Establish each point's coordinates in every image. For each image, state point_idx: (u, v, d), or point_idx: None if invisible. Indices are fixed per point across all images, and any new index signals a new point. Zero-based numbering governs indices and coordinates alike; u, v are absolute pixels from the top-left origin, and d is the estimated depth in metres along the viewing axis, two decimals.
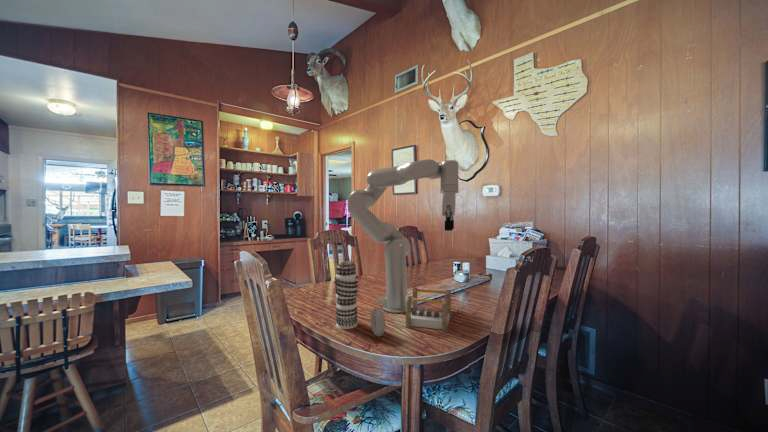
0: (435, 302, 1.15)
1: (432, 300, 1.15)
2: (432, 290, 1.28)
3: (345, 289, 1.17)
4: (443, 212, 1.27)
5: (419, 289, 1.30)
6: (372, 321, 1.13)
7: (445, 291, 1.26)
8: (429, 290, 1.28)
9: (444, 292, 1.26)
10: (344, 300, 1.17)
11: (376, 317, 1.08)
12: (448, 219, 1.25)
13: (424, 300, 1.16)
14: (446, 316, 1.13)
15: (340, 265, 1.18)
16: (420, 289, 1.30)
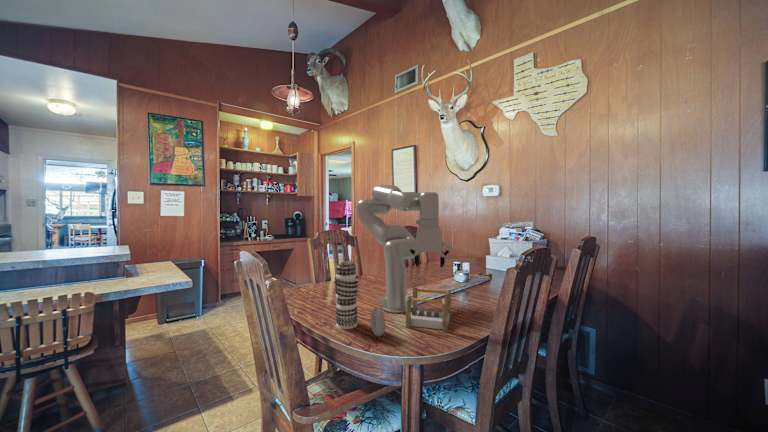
0: (435, 302, 1.15)
1: (432, 300, 1.15)
2: (432, 290, 1.28)
3: (345, 289, 1.17)
4: (441, 248, 1.18)
5: (419, 289, 1.30)
6: (372, 321, 1.13)
7: (445, 291, 1.26)
8: (429, 290, 1.28)
9: (444, 292, 1.26)
10: (344, 300, 1.17)
11: (376, 317, 1.08)
12: (445, 255, 1.19)
13: (424, 300, 1.16)
14: (446, 316, 1.13)
15: (340, 265, 1.18)
16: (420, 289, 1.30)
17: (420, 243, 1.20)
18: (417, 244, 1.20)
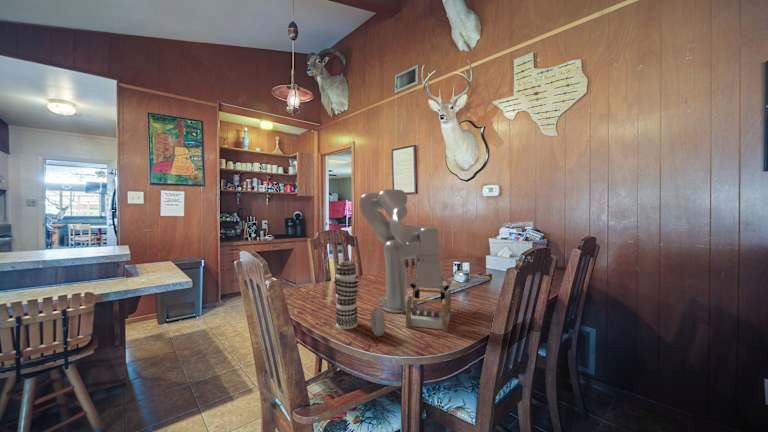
0: (435, 302, 1.15)
1: (432, 300, 1.15)
2: (432, 290, 1.28)
3: (345, 289, 1.17)
4: (441, 284, 1.18)
5: (419, 289, 1.30)
6: (372, 321, 1.13)
7: (445, 291, 1.26)
8: (429, 290, 1.28)
9: None
10: (344, 300, 1.17)
11: (376, 317, 1.08)
12: None
13: (424, 300, 1.16)
14: (446, 316, 1.13)
15: (340, 265, 1.18)
16: (420, 289, 1.30)
17: (420, 278, 1.20)
18: (417, 279, 1.20)
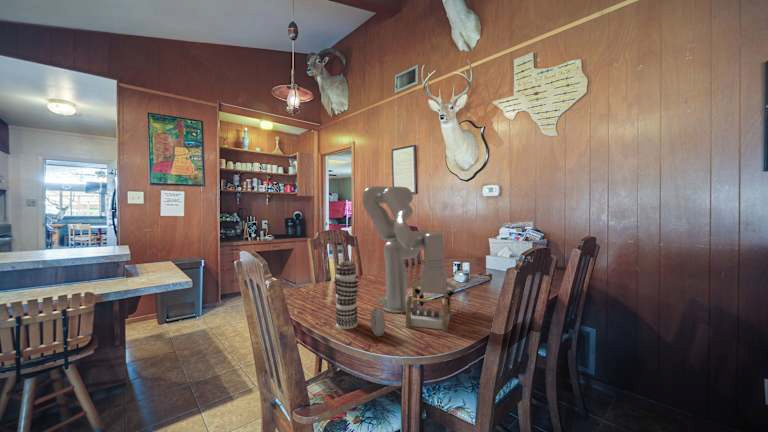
0: (435, 302, 1.15)
1: (432, 300, 1.15)
2: None
3: (345, 289, 1.17)
4: (446, 290, 1.18)
5: (419, 289, 1.30)
6: (372, 321, 1.13)
7: None
8: None
9: None
10: (344, 300, 1.17)
11: (376, 317, 1.08)
12: (450, 296, 1.20)
13: (424, 300, 1.16)
14: (446, 316, 1.13)
15: (340, 265, 1.18)
16: (420, 289, 1.30)
17: (425, 284, 1.20)
18: (422, 284, 1.20)
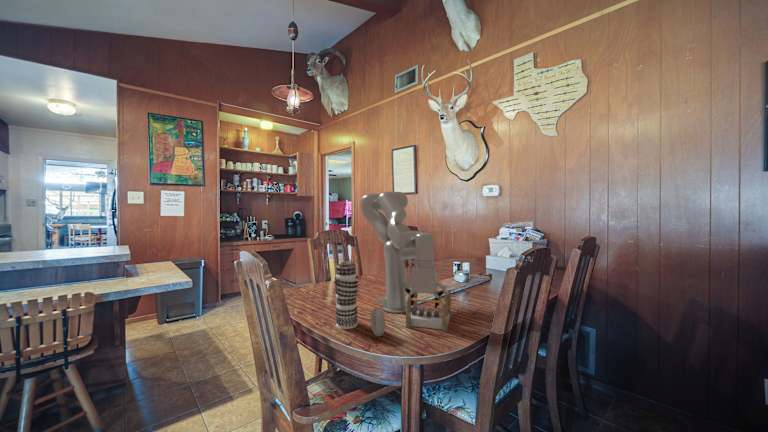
0: (435, 302, 1.15)
1: (432, 300, 1.15)
2: None
3: (345, 289, 1.17)
4: (435, 289, 1.19)
5: None
6: (372, 321, 1.13)
7: (445, 291, 1.26)
8: None
9: (444, 292, 1.26)
10: (344, 300, 1.17)
11: (376, 317, 1.08)
12: (440, 295, 1.21)
13: (424, 300, 1.16)
14: (446, 316, 1.13)
15: (340, 265, 1.18)
16: None
17: (415, 284, 1.21)
18: (412, 284, 1.21)
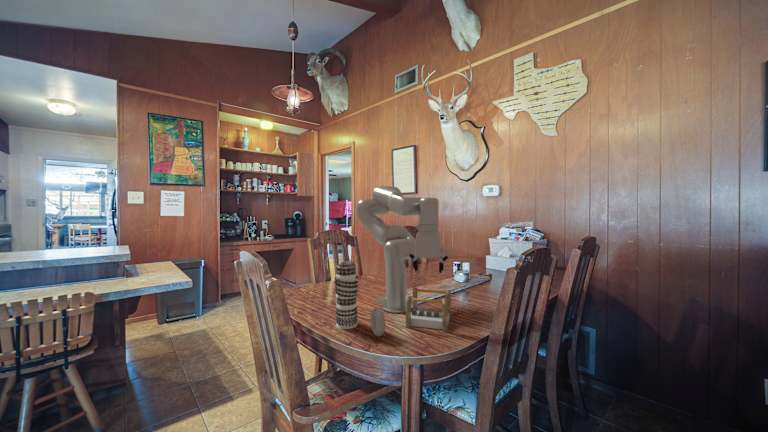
0: (435, 302, 1.15)
1: (432, 300, 1.15)
2: (432, 290, 1.28)
3: (345, 289, 1.17)
4: (440, 254, 1.18)
5: (419, 289, 1.30)
6: (372, 321, 1.13)
7: (445, 291, 1.26)
8: (429, 290, 1.28)
9: (444, 292, 1.26)
10: (344, 300, 1.17)
11: (376, 317, 1.08)
12: (444, 260, 1.20)
13: (424, 300, 1.16)
14: (446, 316, 1.13)
15: (340, 265, 1.18)
16: (420, 289, 1.30)
17: (419, 248, 1.20)
18: (416, 249, 1.20)
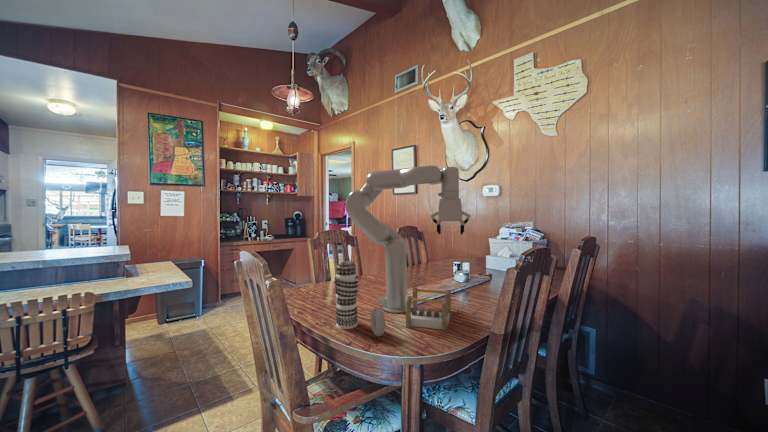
0: (435, 302, 1.15)
1: (432, 300, 1.15)
2: (432, 290, 1.28)
3: (345, 289, 1.17)
4: (461, 217, 1.31)
5: (419, 289, 1.30)
6: (372, 321, 1.13)
7: (445, 291, 1.26)
8: (429, 290, 1.28)
9: (444, 292, 1.26)
10: (344, 300, 1.17)
11: (376, 317, 1.08)
12: (465, 223, 1.33)
13: (424, 300, 1.16)
14: (446, 316, 1.13)
15: (340, 265, 1.18)
16: (420, 289, 1.30)
17: (442, 213, 1.33)
18: (439, 214, 1.34)
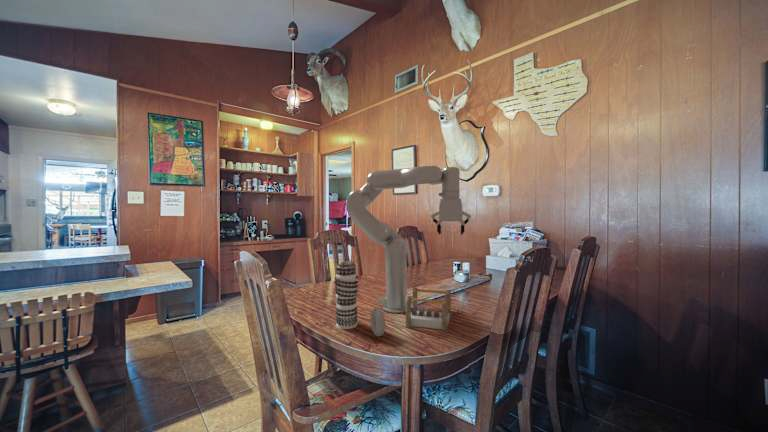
0: (435, 302, 1.15)
1: (432, 300, 1.15)
2: (432, 290, 1.28)
3: (345, 289, 1.17)
4: (461, 217, 1.32)
5: (419, 289, 1.30)
6: (372, 321, 1.13)
7: (445, 291, 1.26)
8: (429, 290, 1.28)
9: (444, 292, 1.26)
10: (344, 300, 1.17)
11: (376, 317, 1.08)
12: (465, 223, 1.33)
13: (424, 300, 1.16)
14: (446, 316, 1.13)
15: (340, 265, 1.18)
16: (420, 289, 1.30)
17: (443, 213, 1.33)
18: (440, 214, 1.34)
